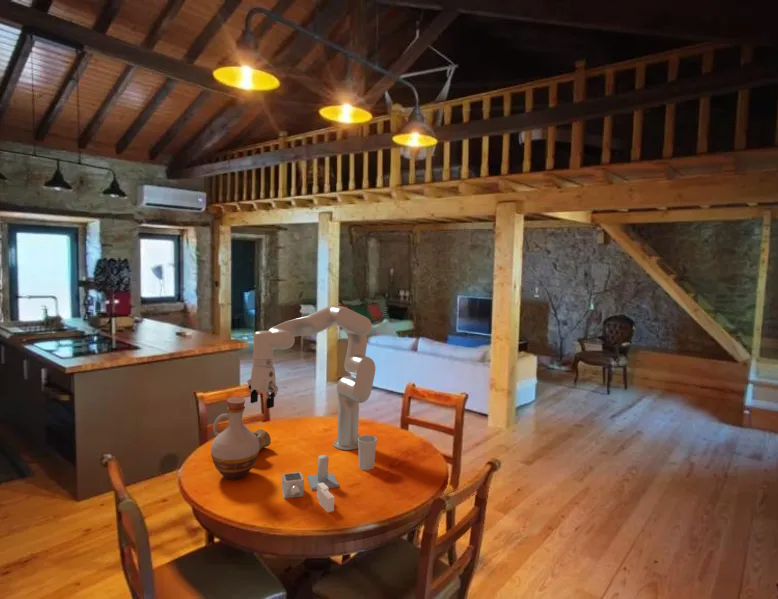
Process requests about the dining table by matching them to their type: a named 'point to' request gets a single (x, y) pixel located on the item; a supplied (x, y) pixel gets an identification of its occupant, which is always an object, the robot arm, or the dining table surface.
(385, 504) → the dining table surface
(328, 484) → the flange
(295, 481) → the collar
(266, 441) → the pipe
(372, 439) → the cup
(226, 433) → the jug
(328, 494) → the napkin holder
